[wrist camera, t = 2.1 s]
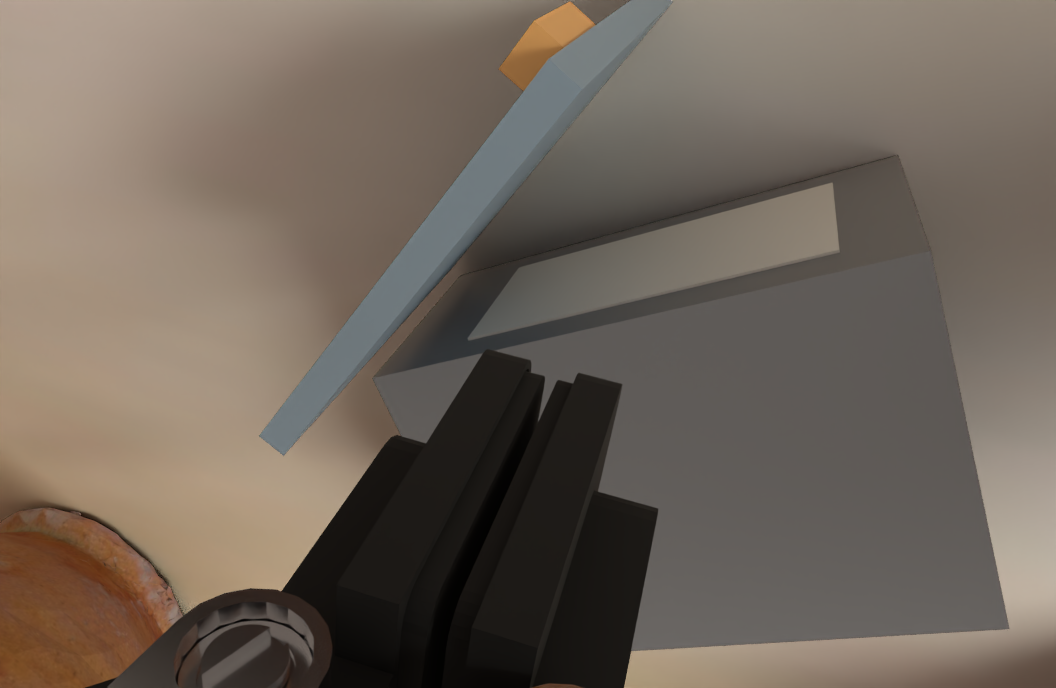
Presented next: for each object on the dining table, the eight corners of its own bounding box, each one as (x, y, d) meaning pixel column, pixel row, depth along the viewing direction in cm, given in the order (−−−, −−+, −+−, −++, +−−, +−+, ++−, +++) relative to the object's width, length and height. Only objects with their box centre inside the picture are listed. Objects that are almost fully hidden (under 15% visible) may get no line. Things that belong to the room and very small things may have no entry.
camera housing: (897, 152, 26) (930, 247, 20) (963, 464, 31) (1008, 628, 24) (408, 287, 34) (310, 390, 27) (518, 522, 38) (457, 661, 31)
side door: (633, -35, 25) (514, 28, 15) (672, 1, 26) (581, 89, 15) (421, 239, 32) (233, 416, 21) (453, 266, 32) (283, 455, 22)
